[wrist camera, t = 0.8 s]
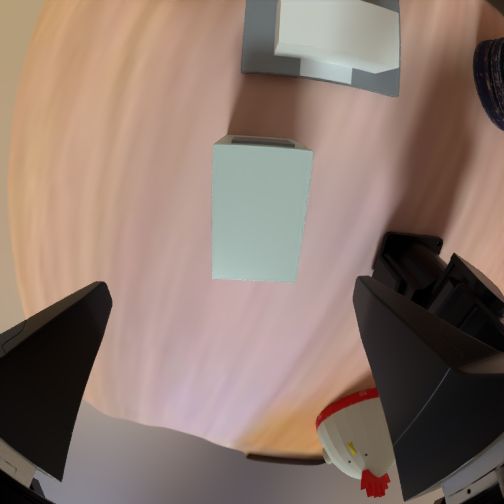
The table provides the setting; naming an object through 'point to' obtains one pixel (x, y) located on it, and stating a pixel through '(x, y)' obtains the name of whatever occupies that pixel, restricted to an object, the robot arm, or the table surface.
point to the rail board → (289, 67)
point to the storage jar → (490, 78)
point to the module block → (259, 207)
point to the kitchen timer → (358, 439)
